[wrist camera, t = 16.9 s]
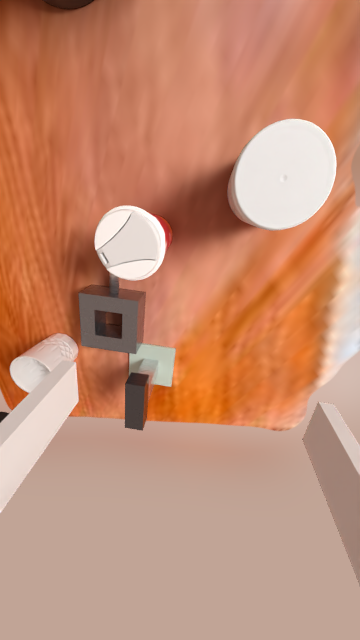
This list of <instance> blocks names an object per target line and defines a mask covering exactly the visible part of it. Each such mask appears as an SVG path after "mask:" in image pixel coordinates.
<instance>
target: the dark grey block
mask: <svg viewBox="0 0 360 640" xmlns="http://www.w3.org/2000/svg"><path fill="white" fill-rule="evenodd" d="M158 365H159V360H152V359H145V358H144V360H143V362H142V364H141V366H140V368H139V370H138V373H134V372H131V373H130V375H129V377H128V379H127V381H126V383H125V428H132V429H137V430H143V428H144V424H145V422H146V418H147V407H148V401H149V398H150V395H151V392H152V389H153V386H154V383H155V380H156V377H157V374H158Z"/></svg>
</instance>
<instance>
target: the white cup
mask: <svg viewBox="0 0 360 640" xmlns="http://www.w3.org/2000/svg"><path fill="white" fill-rule="evenodd" d="M77 355H78V347H77V344H76V343H75V341H74V340H73V339H72V338H71V337H69V336H68V335H66V334H61V333H57V334H53V335H51V336H49V337H48V338H47V339H45V340H43V341H41V342H40V343H38V344H37V345H35V346H33V347H32V348H30V349H29V350H28V351H26V352H25V353H23V354H22V355H20V356H19V357H17V358H16V359H14V360H13V361H12V363H11V365H10V374H11V377H12V379H13V380H14V382H15V383H16V384H17V385H18V386H19V387H20V388H21V389H23V390H24V391H26V392H28V393H30V392H31V391H32V390H33V389H34V388H35V387H36V386H37V385H38V384H39V383H40V382H41V381H42V380H43V379H44V378H45V377H46V376H47V375H48V374H49V373H50V372H51V371H52V370H53V369H54V368H55V367H56V366H57V365H58V364H59V363H60V362H61V361H62V360H64V361H71V362H73V361H74V360H75V359H76V358H77Z"/></svg>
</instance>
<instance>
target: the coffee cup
mask: <svg viewBox="0 0 360 640" xmlns="http://www.w3.org/2000/svg"><path fill="white" fill-rule="evenodd" d="M94 241H95V250H96V251H97V254H98V256H99V258H100V260H101V262H102V263H103V265H104V266H105V267H106V268H107V270H108V271H109V272H110V273H112V274H114V275H115V276H117V277H119V278H122V279H125V280H132V281H134V280H142V279H145V278H147V277H149V276H151V275H152V274H153V273H154V272H156V270H157V269H158V268H159V267H160V265H161V263H162V261H163V259H164V255H165V252H166V251H167V249H168V248H169V246H170V244H171V241H172V229H171V227H170V225H169V223H168V222H167V221H166V220H165V219H164V218H162V217H161V216H158V215H155V214H151V213H148V212H146V211H145V210H143V209H141V208H138V207H134V206H120V207H116V208H114V209H112V210H110V211H109V212H107V213H106V214H105V215H104V216H103V217H102V219H101V220H100V222H99V224H98V226H97V229H96V233H95V240H94Z"/></svg>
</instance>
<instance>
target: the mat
mask: <svg viewBox="0 0 360 640" xmlns="http://www.w3.org/2000/svg"><path fill="white" fill-rule="evenodd" d="M175 350H176V348H171V347H164V346H158V345H151V344H145V343H142V344H141V346H140V348H139V350H138V352H137V353H136V354H131V353H130V355H129V375H130V373H131V372H134V373H138V370H139V368H140V366H141V364H142V362H143V360H144V358H145V359H152V360H159V365H158V374H157V377H156V380H155V383H154V384H158V385H164V386H170V387H171V385H172V376H173V367H174V359H175Z"/></svg>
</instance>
